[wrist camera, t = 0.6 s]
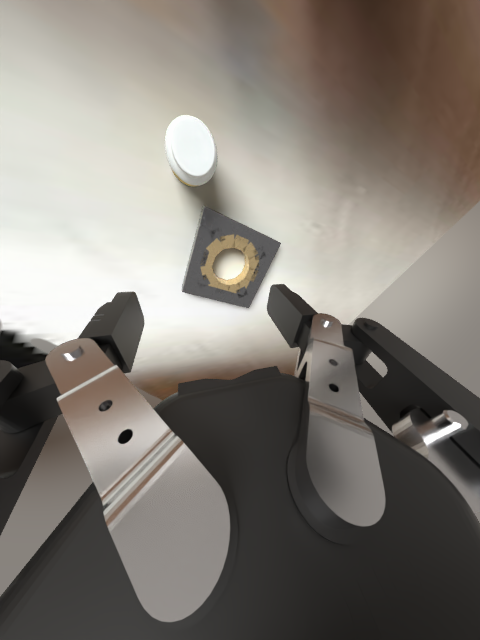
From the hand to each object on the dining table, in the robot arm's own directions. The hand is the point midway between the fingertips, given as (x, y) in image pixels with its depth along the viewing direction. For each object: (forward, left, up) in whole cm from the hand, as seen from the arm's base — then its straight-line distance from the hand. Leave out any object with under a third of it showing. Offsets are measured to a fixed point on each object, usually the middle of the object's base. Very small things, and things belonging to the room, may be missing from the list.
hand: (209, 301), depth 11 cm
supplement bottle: (-8, -3, -23) cm, 25 cm away
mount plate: (+3, +7, -23) cm, 24 cm away
